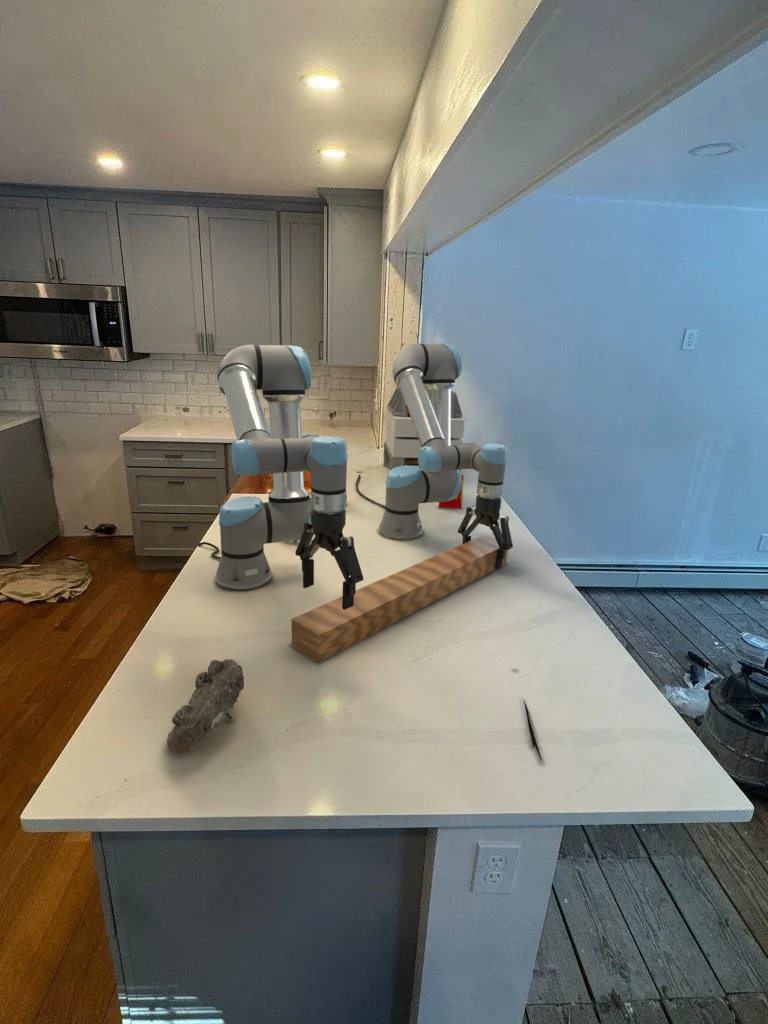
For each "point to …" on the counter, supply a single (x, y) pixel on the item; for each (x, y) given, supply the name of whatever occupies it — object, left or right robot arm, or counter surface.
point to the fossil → (206, 705)
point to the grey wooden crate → (412, 432)
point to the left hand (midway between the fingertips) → (327, 596)
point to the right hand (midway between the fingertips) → (481, 561)
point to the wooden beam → (392, 599)
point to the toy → (454, 500)
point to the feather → (532, 731)
